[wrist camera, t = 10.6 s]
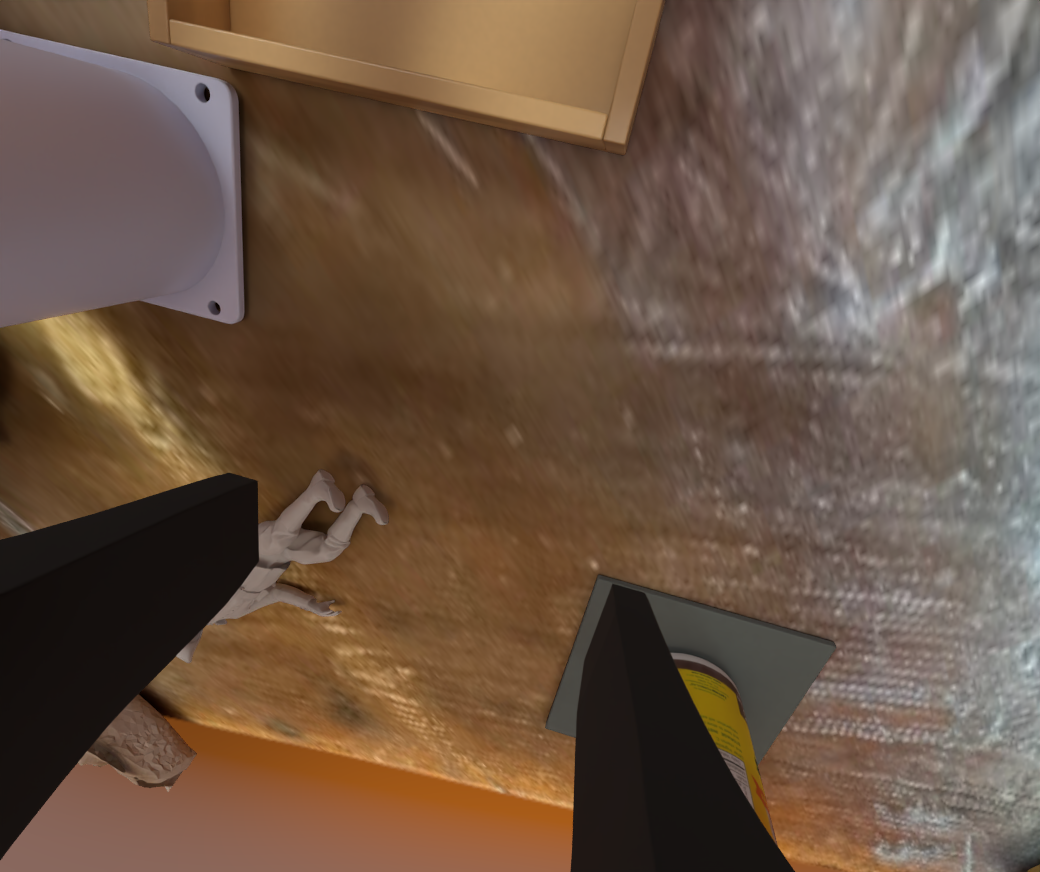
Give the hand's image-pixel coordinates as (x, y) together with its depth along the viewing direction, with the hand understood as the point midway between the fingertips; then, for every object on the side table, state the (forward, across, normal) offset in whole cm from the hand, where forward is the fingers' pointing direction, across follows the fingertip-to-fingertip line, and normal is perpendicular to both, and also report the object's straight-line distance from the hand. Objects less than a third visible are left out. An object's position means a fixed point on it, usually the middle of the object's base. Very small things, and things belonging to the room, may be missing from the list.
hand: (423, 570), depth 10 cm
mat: (+10, -10, +12) cm, 19 cm away
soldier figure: (+11, +9, +10) cm, 17 cm away
